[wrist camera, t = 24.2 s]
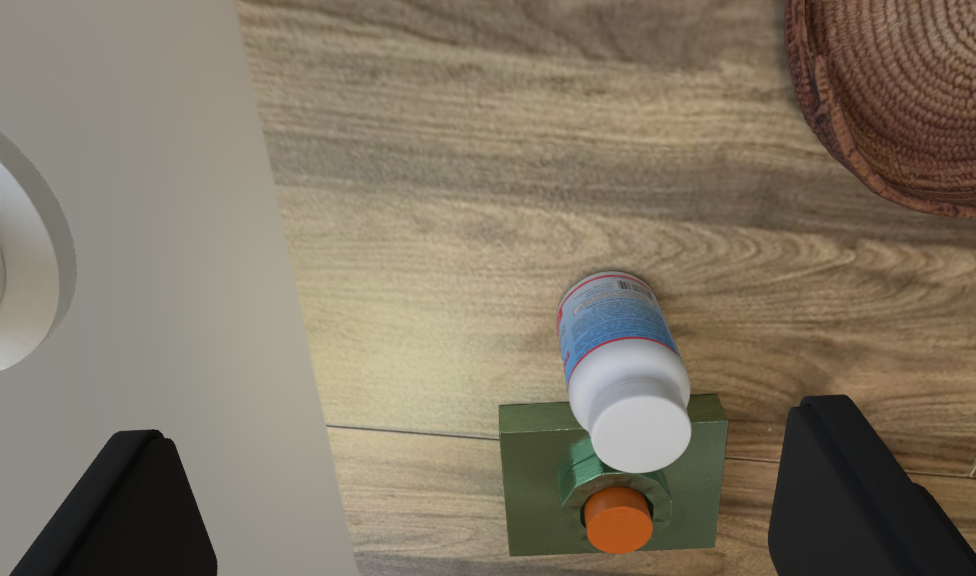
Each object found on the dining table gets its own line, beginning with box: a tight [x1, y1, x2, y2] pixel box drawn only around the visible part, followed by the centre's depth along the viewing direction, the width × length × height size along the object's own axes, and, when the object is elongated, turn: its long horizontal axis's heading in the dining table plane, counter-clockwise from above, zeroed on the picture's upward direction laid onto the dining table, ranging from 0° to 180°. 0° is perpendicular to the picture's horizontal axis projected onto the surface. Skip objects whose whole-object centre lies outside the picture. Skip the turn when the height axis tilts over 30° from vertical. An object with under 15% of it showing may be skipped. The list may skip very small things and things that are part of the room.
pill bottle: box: [557, 271, 691, 473], centre depth 37 cm, size 6×6×11 cm
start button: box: [584, 487, 653, 554], centre depth 43 cm, size 4×4×2 cm
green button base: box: [499, 394, 729, 556], centre depth 46 cm, size 14×11×4 cm
